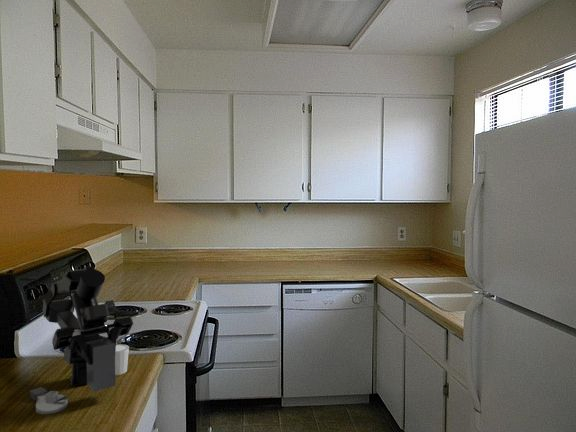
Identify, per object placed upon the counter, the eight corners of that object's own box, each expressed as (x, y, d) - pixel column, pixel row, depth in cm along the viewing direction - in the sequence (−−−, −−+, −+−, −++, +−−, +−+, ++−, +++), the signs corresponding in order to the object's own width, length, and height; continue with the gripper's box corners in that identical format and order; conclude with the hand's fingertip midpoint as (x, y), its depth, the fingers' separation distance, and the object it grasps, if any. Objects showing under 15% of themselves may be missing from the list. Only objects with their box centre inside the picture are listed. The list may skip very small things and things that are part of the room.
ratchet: (72, 406, 106) (72, 392, 106) (42, 417, 101) (42, 402, 101) (50, 390, 115) (49, 376, 115) (21, 399, 110) (21, 385, 110)
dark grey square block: (87, 384, 110) (86, 342, 110) (108, 379, 114) (107, 337, 113) (93, 391, 107) (93, 347, 106) (115, 385, 110) (114, 342, 110)
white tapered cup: (111, 366, 131) (111, 343, 131) (133, 367, 130) (133, 344, 130) (99, 375, 124) (98, 351, 124) (122, 377, 124) (122, 352, 123)
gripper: (54, 297, 106) (68, 354, 98) (130, 286, 118) (147, 336, 111) (46, 321, 112) (59, 377, 104) (119, 309, 125) (135, 358, 117)
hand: (102, 361), depth 109 cm, fingers closed on dark grey square block, 5 cm apart
